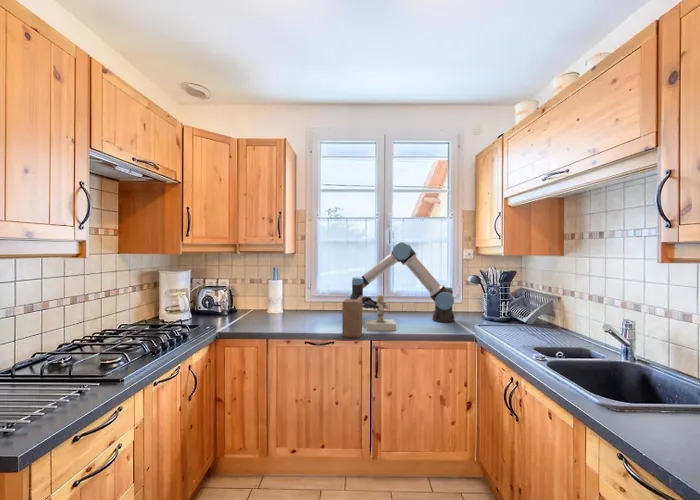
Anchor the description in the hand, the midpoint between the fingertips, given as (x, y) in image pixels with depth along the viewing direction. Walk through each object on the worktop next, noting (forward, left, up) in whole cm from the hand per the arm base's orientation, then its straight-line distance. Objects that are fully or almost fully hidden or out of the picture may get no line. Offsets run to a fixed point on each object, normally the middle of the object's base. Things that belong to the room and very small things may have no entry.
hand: (385, 307), depth 224 cm
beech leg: (+3, -5, -9) cm, 11 cm away
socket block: (+3, -5, -14) cm, 15 cm away
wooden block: (+21, +12, -14) cm, 28 cm away
